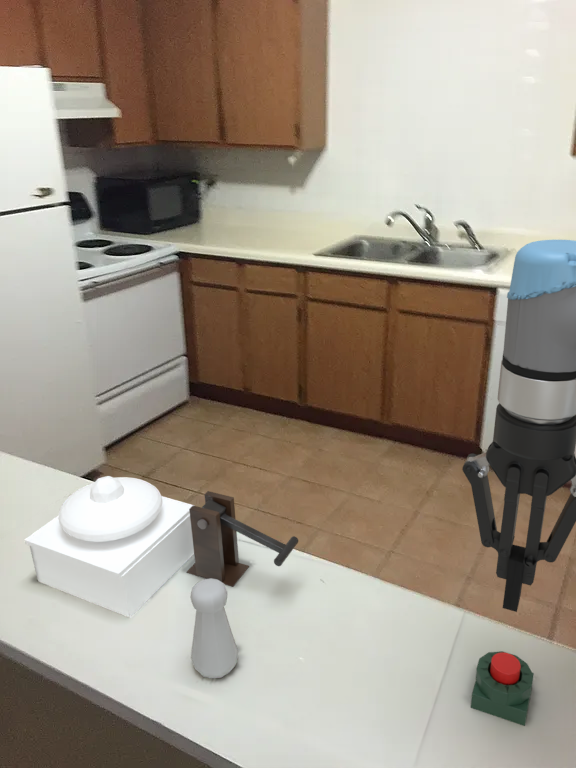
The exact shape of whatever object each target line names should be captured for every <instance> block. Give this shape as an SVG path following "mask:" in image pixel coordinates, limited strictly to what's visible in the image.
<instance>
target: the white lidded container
mask: <svg viewBox="0 0 576 768" xmlns="http://www.w3.org/2000/svg"><path fill="white" fill-rule="evenodd" d="M192 506H196V505H194V504H191V503H188V502H184V501H180V500H177V499H174V498H169V497H166V496H163V495H162V494H161V492H160V490H159V489H158V488H157V487H156V486H155V485H154V484H151V483H150V482H148V481H146V480H143V479H141V478H136V477H126V476H119V477H117V476H116V477H114V476H111V475H106V476H102V477H99V478H97V479H96V480H95V481H93V482H90V483H88V484H87V485H84V486H82V487H80V488H78V489H76V490H75V491H73V492H72V493H71V494H70V495H69V496H68V497H67V498H66V499H65V501H64V502H63V503H62V504H61V506H60V508H59V511H58V515H57V516H55V517H53V518H52V519H51V520H50V521H48V522H47V523H45V524H44V525H43V526H41V527H39V528H38V529H37V530H35V531H34V532H33V533H31V534H30V535H28V536H27V537H26V538H24V539H23V541H24V545H26V546H29V549H30V553H31V558H32V562H33V566H34V567H33V568H34V571H35V575H36V579H37V582H38V583H41V584H44V585H45V586H48V587H51V588H54V589H55V590H59V591H61V592H64V593H66V594H67V595H71V596H74V597H77V598H79V599H82V600H84V601H86V602H89V603H91V604H94V605H96V606H99V607H101V608H104V609H107V610H109V611H111V612H114V613H116V614H119V615H122V616H125V617H126V618H130V619H131V618H132V617H133V616H134V615H135V614H136V613H137V612H138V611H139V610H140V609H141V608H142V607H143V606H144V605H145V604H146V603H147V602H148V601H149V600H150V599H151V598H152V597H153V596H154V595H155V594H156V593H157V592H158V590H160V589H161V588H162V587H163V586H164V585H165V584H166V583H167V582H168V581H169V580H170V579H171V578H172V577H173V576H174V575H175V574H176V573H177V572H178V571H179V570H180V569H181V568H182V567H183V566H184V565H185V564H186V563H187V562H188V561H189V560H190V559H191V558H193V556H194V547H193V538H192V529H191V520H190V511H189V509H190V508H191V507H192Z"/></svg>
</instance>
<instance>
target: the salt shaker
mask: <svg viewBox="0 0 576 768" xmlns="http://www.w3.org/2000/svg"><path fill="white" fill-rule="evenodd" d="M227 601H228V589H227V587H226V585H225V584H224V583H222V582H221V581H219V580H217V579H212V578H210V579H205V578H203V579H202V580H200V581H198V582H196V584H194V585H193V586H192V588H191V591H190V602H191V604H192V607H193V609H194V610H195V619H194V626H193V635H192V644H191V652H190V659H191V663H192V665H193V667H194V670H195V671H197V672H198V673H199V674H200V675H201V676H202V677H203V678H209V679H218V678H220V679H222V678H223V677H224V676H226V675H228V674H230V673H231V672H232V670H233V669H235V667H236V665H237V661H238V657H239V649H238V645H237V643H236V640H235V636H234V634H233V631H232V628H231V625H230V622H229V619H228V615H227V612H226V608H225V606H226V605H227Z"/></svg>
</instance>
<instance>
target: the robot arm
mask: <svg viewBox="0 0 576 768" xmlns="http://www.w3.org/2000/svg"><path fill="white" fill-rule="evenodd" d="M512 267H513V268H512V273H511V279H510V286H509V290H508V292H507V295H506V298H507V306H506V318H505V329H504V341H503V351H502V359H501V362H500V370H499V381H498V390H497V401H498V404H497V405H496V408H495V409H496V411H495V417H494V427H493V436H492V442H491V443H490V444H489V445H488V447H487V450H486V452H483V453H481V454H476V453H469V454H468V455H467V456H466V459H465V461H464V463H463V466H462V469H461V470H462V472H463V474H464V476H465V477H466V479H467V480H468V483H469V484H470V487H471V492H472V498H473V505H474V509H475V514H476V521H477V526H478V532H479V536H480V542H481V545H482V546H483V547H485V548H492V549H494V550H495V551H496V552H497V560H496V561H497V562H496V570H495V574H496V577H497V578H498V579H503V580H505V585H504V594H503V600H502V609H504V610H508V611H511V612H514V613H515V612H516V613H517V612H518V608H519V604H520V600H521V596H522V587H523V585H527V586H532V585H533V583H534V581H535V576H536V571H537V563H538V562H540V561H546V562H547V563H554V562H556V561H557V559H558V557H559V555H560V553H561V551H562V549H563V547H564V545H565V543H566V541H567V540H568V538H569V536H570V534H571V532H572V530H573V528H574V526H575V525H576V453H575V452H576V240H574V239H542V240H536V241H531V242H529V243H526V244H524V246H522V247H521V248H520V249H518V250H517V252H516V254H515V256H514V262H513V266H512ZM490 467H491V469H492V470H493V472H494V474H495V476H496V477H497V479H498V480H499V482H500V483H501V485H502V486H503V487H504V488H505V490H504V499H503V510H502V518H501V526H500V531H499V530H498V527H497V522H496V516H495V510H494V504H493V498H492V492H491V487H490V481H489V476H488V473H489V471H490ZM570 481H571V483H570V486H569V487H570V488H569V492H570V494H569V496H568V498H567V500H566V502H565V504H564V505H563V507H562V510H561V512H560V514H559V516H558V518H557V520H556V521H555V524H554V526H553V528H552V530H551V531H550V534H549V535H548V538H547V540H546V541H541V539H542V533H543V532H542V531H543V525H544V517H545V511H546V506H547V505H546V504H547V497H549V496H551V495H553V494H555V492H557V491H558V490H559V489H560V488H562V487H563V486H565V485H566V484H567V483H569V482H570ZM522 494H523V495H524V494H525V495H528V496H530V497H531V502H530V513H529V520H528V526H527V535H526V541H525V546H520V545H517V544H514V541H515V538H516V536H515V533H516V528H517V527H516V526H517V519H518V512H519V505H520V497H521V495H522Z"/></svg>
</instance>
